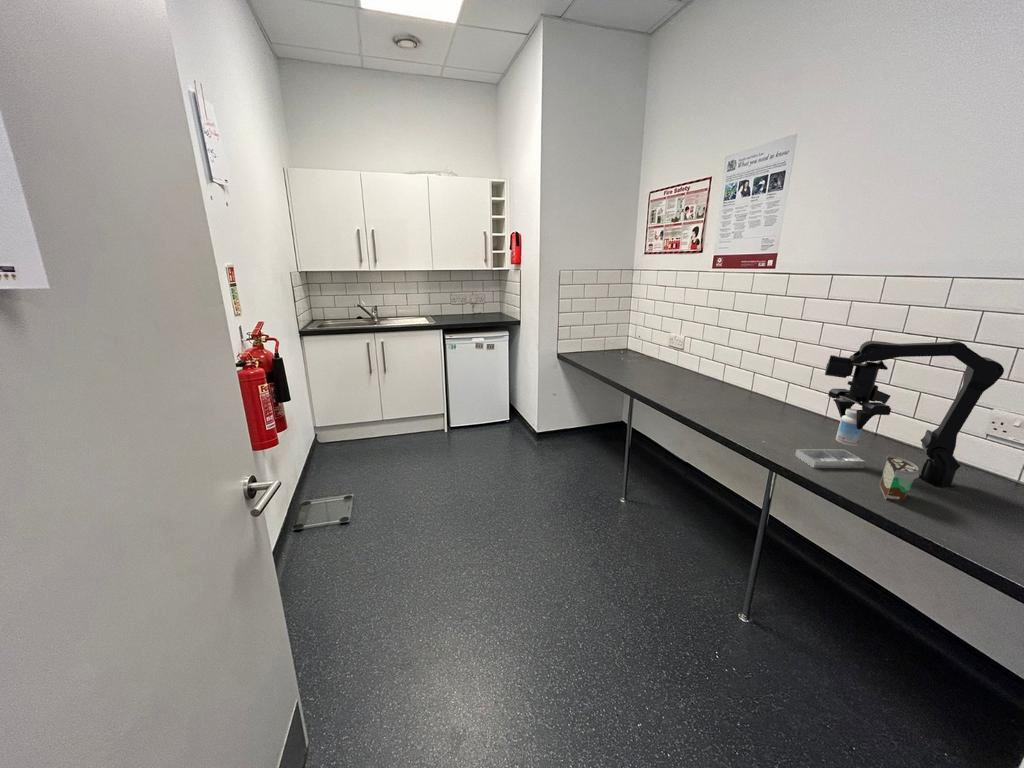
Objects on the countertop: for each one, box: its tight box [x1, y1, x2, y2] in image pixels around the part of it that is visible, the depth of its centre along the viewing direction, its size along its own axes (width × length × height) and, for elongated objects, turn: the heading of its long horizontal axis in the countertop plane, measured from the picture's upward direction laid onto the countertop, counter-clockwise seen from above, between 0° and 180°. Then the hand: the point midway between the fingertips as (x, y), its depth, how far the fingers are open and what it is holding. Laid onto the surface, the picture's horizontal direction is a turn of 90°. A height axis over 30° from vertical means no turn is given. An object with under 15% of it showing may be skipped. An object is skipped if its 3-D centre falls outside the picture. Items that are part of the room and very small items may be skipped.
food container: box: [879, 454, 920, 502], centre depth 120 cm, size 12×6×10 cm, turn 148°
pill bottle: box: [835, 408, 864, 446], centre depth 138 cm, size 6×6×11 cm
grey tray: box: [794, 448, 866, 469], centre depth 141 cm, size 9×17×2 cm, turn 91°
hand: (851, 425), depth 138 cm, fingers closed on pill bottle, 6 cm apart
